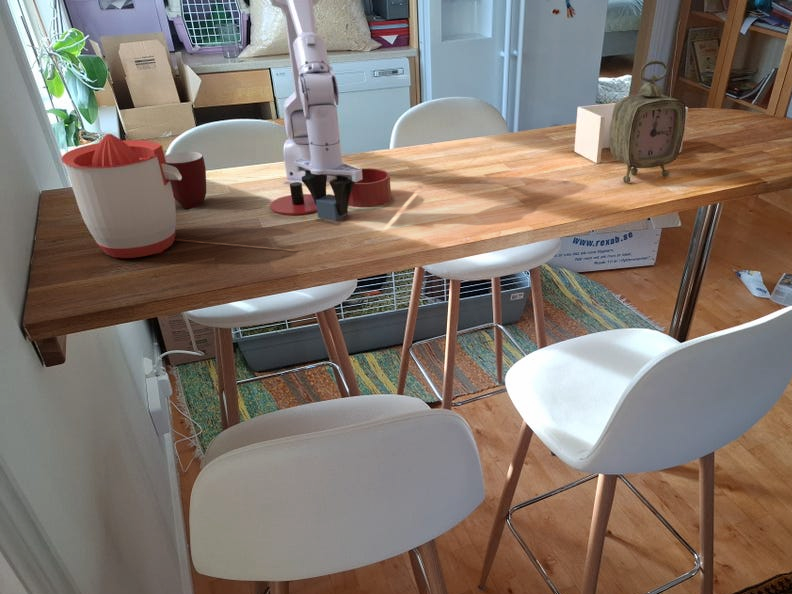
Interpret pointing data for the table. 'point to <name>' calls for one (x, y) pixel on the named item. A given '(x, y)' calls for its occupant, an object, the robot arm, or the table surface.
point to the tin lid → (294, 202)
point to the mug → (188, 178)
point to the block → (328, 208)
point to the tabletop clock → (647, 127)
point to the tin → (371, 189)
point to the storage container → (596, 130)
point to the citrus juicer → (125, 195)
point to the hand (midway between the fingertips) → (332, 211)
